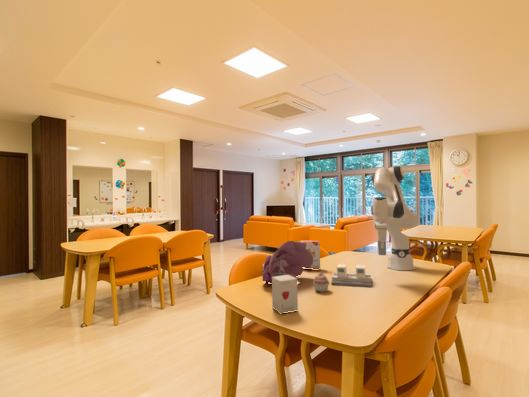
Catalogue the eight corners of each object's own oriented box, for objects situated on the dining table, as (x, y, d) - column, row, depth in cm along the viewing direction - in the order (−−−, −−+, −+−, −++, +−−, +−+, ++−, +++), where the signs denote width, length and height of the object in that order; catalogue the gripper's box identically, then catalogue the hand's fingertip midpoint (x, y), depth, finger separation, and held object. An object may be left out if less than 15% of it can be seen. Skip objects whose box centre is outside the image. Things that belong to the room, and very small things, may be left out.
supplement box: (280, 315, 125) (279, 281, 126) (272, 308, 134) (271, 276, 134) (298, 311, 129) (297, 278, 129) (289, 305, 137) (288, 274, 138)
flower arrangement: (285, 301, 157) (289, 252, 152) (250, 287, 170) (254, 242, 165) (311, 279, 186) (316, 238, 181) (280, 269, 199) (284, 230, 194)
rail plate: (334, 276, 186) (334, 262, 186) (370, 278, 179) (369, 263, 179) (331, 284, 168) (330, 269, 168) (371, 287, 161) (370, 270, 161)
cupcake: (311, 292, 155) (310, 274, 155) (314, 287, 164) (313, 270, 164) (328, 294, 152) (328, 275, 152) (331, 288, 160) (330, 271, 161)
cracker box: (299, 269, 208) (298, 241, 208) (301, 268, 213) (300, 240, 214) (319, 271, 202) (317, 241, 203) (320, 269, 208) (319, 240, 208)
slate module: (378, 253, 174) (377, 238, 174) (385, 253, 173) (384, 238, 173) (378, 255, 168) (378, 239, 168) (386, 255, 167) (385, 239, 167)
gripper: (374, 222, 182) (375, 244, 181) (376, 225, 162) (376, 250, 162) (385, 222, 179) (386, 244, 179) (388, 225, 160) (389, 250, 160)
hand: (381, 247), depth 171 cm, fingers closed on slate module, 6 cm apart
